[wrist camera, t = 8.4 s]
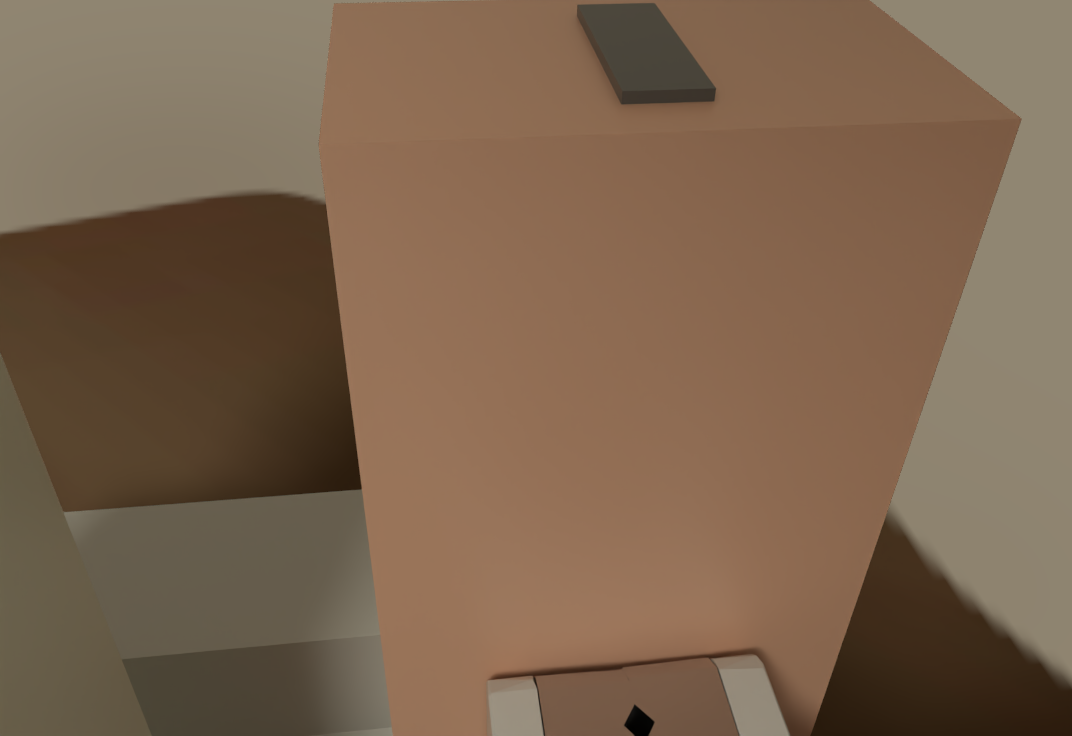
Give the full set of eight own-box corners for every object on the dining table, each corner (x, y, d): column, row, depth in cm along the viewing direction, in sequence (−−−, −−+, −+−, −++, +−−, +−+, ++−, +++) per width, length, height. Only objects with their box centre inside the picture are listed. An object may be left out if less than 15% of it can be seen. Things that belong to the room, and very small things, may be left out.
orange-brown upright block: (417, 933, 14) (316, 130, 6) (411, 729, 16) (334, -15, 9) (757, 889, 14) (1025, 105, 7) (701, 699, 17) (853, -24, 9)
